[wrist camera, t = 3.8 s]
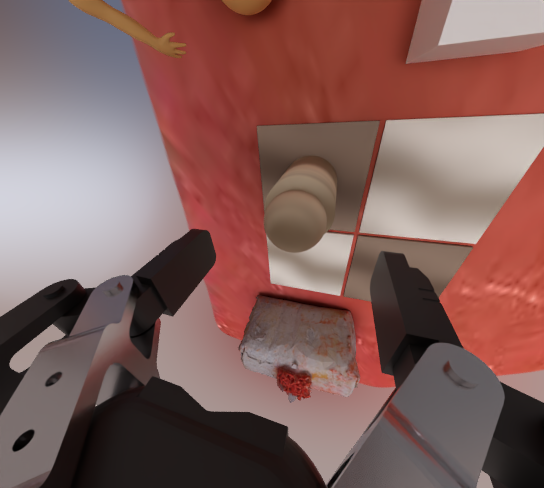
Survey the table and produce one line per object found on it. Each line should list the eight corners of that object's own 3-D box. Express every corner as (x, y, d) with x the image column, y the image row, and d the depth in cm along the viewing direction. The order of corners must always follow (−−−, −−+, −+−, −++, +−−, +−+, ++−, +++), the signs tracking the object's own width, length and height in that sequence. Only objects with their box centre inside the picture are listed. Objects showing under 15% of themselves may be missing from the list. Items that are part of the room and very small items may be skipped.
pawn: (283, 155, 16) (241, 195, 9) (341, 155, 14) (339, 201, 8) (284, 205, 18) (252, 264, 12) (333, 209, 17) (327, 276, 11)
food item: (361, 305, 23) (370, 405, 16) (351, 340, 28) (354, 429, 20) (256, 287, 27) (223, 360, 20) (263, 320, 32) (238, 389, 24)
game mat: (257, 125, 15) (256, 126, 15) (564, 112, 10) (567, 112, 10) (271, 282, 25) (270, 283, 25) (427, 310, 21) (428, 311, 21)
